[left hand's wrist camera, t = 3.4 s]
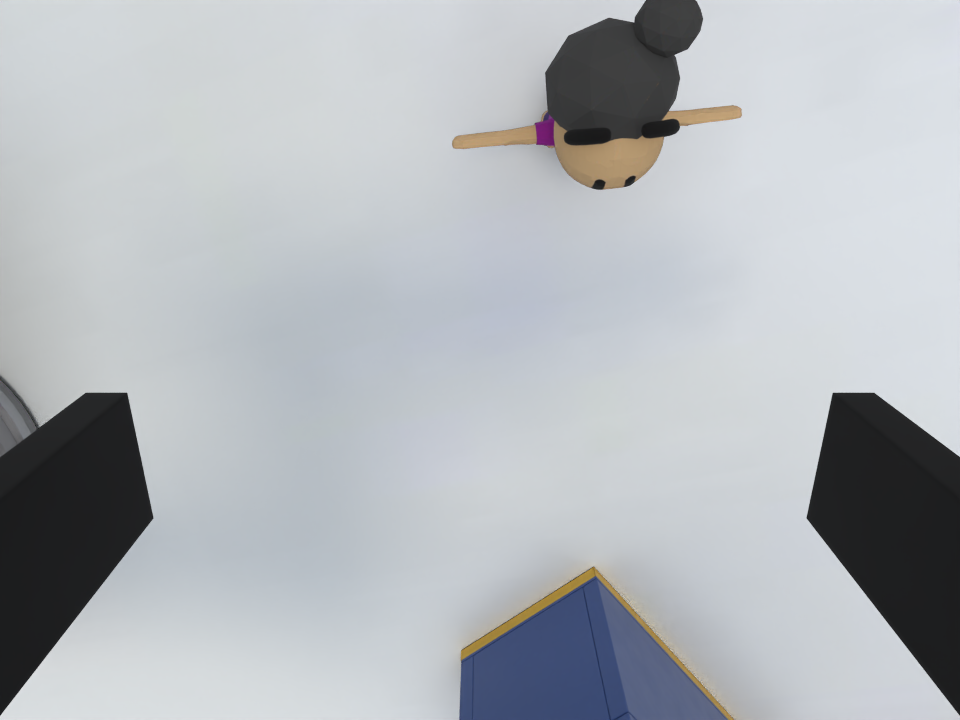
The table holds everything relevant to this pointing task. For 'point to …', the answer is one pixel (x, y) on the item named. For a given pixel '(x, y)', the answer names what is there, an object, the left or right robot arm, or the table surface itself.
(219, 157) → the table surface
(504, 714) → the cabinet
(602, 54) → the toy
